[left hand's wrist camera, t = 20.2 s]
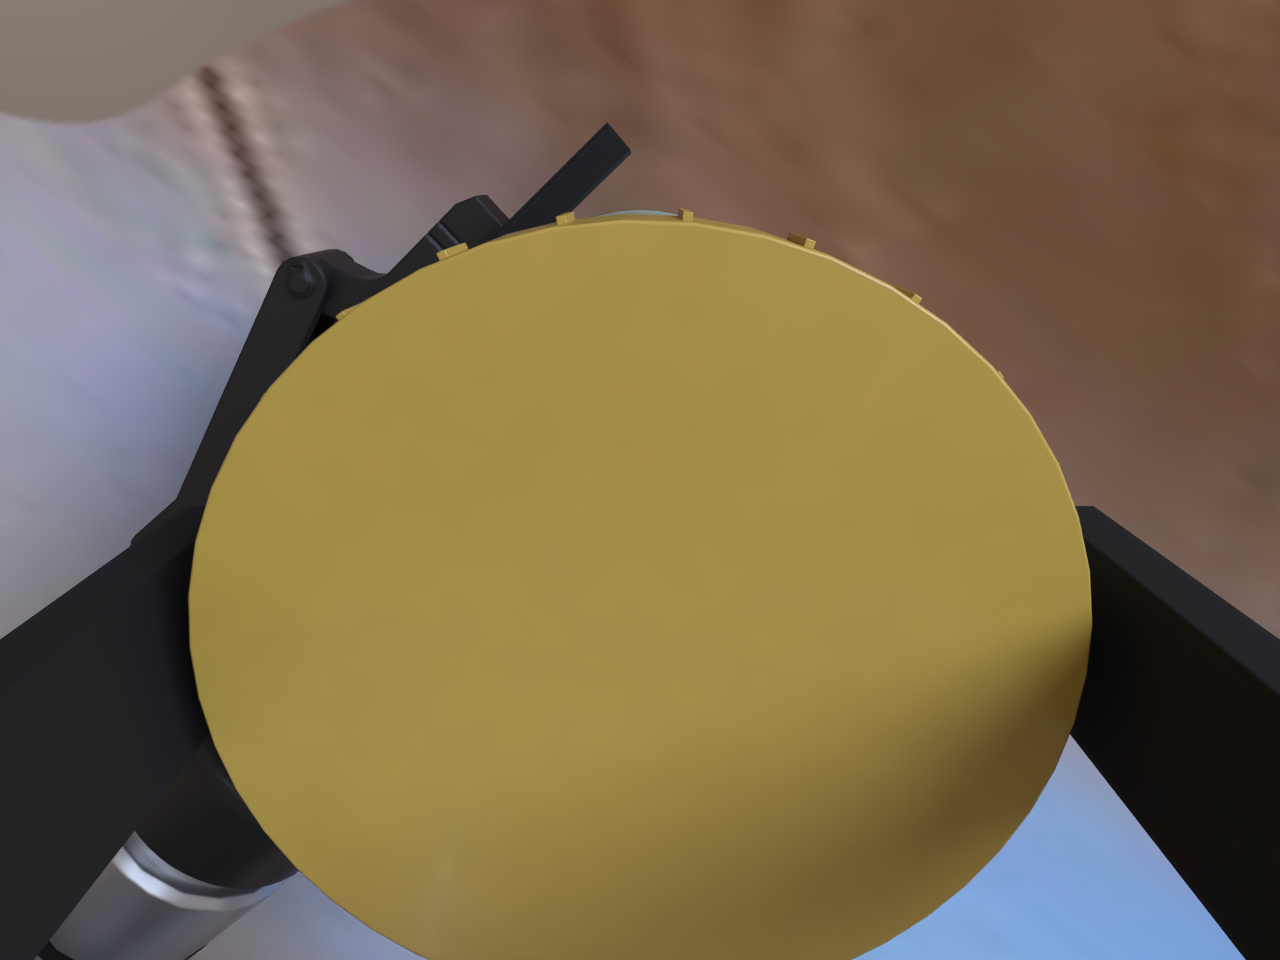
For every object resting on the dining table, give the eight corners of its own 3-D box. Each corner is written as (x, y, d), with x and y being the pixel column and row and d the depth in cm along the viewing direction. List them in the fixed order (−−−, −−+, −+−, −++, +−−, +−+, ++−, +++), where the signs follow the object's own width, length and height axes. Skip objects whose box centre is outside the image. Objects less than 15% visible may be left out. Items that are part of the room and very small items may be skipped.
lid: (160, 224, 10) (69, 231, 8) (1097, 194, 10) (1183, 197, 8) (314, 922, 14) (272, 1017, 12) (988, 907, 14) (1033, 1000, 12)
